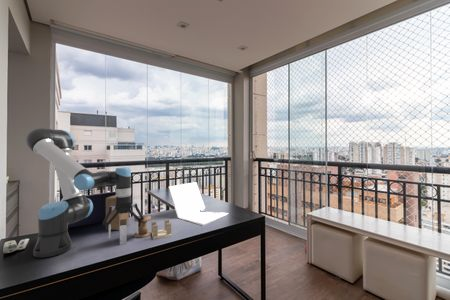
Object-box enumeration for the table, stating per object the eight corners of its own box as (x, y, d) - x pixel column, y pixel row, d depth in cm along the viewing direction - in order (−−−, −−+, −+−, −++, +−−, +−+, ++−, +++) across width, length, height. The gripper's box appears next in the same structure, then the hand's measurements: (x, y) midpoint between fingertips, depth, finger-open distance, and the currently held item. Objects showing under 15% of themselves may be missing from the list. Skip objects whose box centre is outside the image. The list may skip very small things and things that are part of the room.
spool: (134, 239, 120) (134, 221, 120) (134, 233, 128) (134, 216, 128) (151, 236, 123) (151, 218, 123) (150, 231, 131) (150, 214, 132)
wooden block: (119, 230, 132) (119, 198, 132) (104, 229, 134) (105, 197, 134) (129, 225, 142) (129, 195, 142) (116, 224, 144) (116, 194, 144)
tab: (119, 244, 112) (119, 224, 112) (120, 238, 120) (120, 219, 120) (126, 243, 113) (126, 223, 114) (126, 237, 122) (126, 218, 122)
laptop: (203, 226, 140) (202, 191, 140) (168, 217, 161) (168, 186, 161) (229, 215, 164) (229, 185, 164) (196, 208, 185) (196, 181, 185)
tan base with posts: (171, 236, 123) (171, 224, 123) (153, 239, 119) (153, 226, 119) (168, 230, 132) (168, 219, 133) (151, 233, 128) (151, 221, 128)
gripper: (96, 199, 109) (96, 241, 108) (148, 194, 119) (148, 233, 118) (98, 196, 115) (98, 236, 115) (147, 192, 126) (147, 229, 125)
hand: (124, 235), depth 117 cm, fingers open, 13 cm apart
